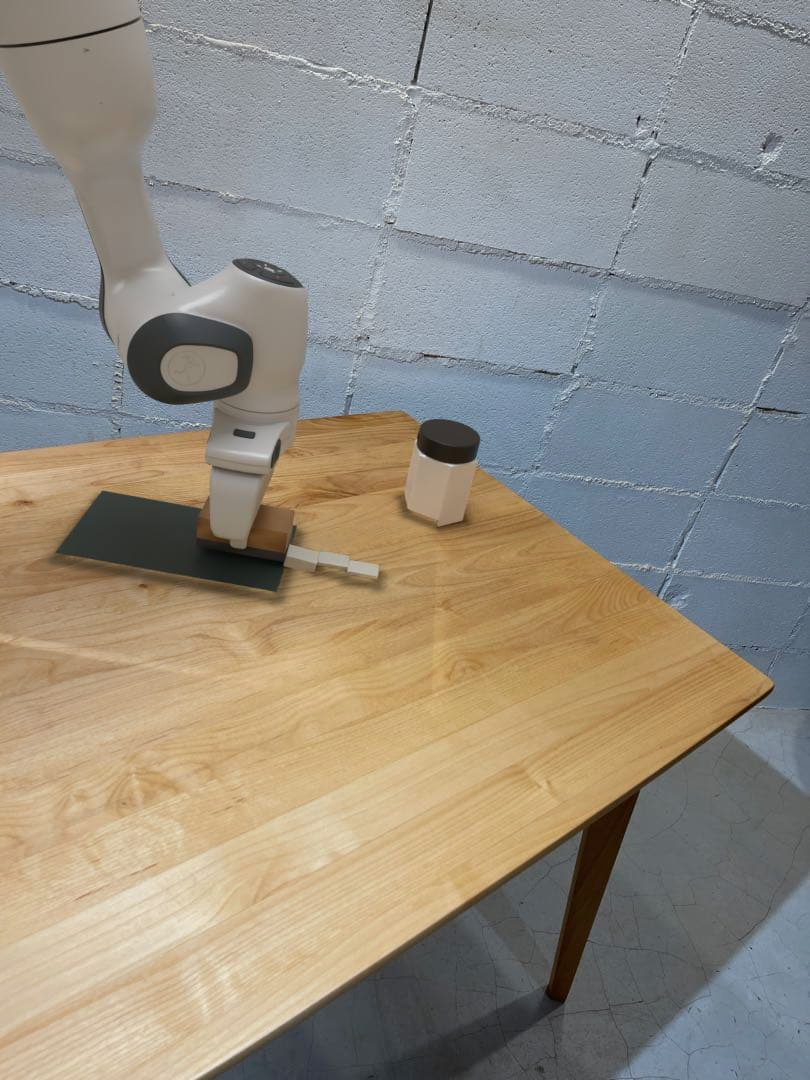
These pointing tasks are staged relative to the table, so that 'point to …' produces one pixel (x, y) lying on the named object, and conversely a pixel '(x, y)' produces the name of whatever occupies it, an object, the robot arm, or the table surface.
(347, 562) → the white rectangular block
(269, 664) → the table surface
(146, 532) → the chalkboard
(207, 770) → the table surface
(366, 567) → the white rectangular block
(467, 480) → the jar
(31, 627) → the table surface
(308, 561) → the white rectangular block
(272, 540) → the eraser
